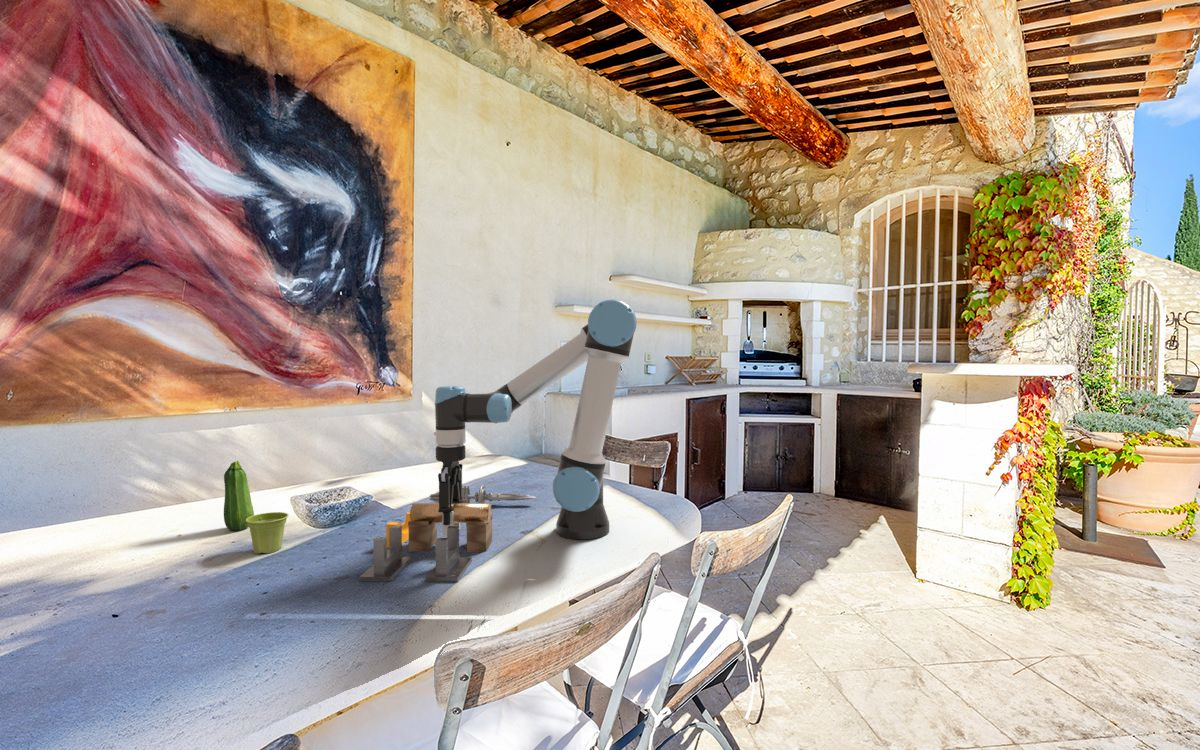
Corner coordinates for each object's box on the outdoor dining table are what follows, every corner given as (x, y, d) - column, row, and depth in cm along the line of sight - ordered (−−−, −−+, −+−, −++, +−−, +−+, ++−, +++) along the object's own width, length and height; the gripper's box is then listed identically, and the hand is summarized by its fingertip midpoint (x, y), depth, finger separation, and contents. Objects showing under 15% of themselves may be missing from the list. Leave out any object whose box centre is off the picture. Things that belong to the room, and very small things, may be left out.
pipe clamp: (404, 533, 152) (404, 511, 152) (418, 534, 151) (418, 511, 151) (380, 548, 140) (380, 523, 140) (395, 549, 139) (395, 524, 139)
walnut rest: (492, 542, 144) (492, 513, 144) (485, 552, 136) (485, 522, 136) (419, 541, 144) (418, 513, 144) (408, 551, 137) (408, 522, 136)
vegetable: (241, 534, 151) (240, 463, 150) (217, 533, 151) (215, 463, 151) (259, 526, 158) (258, 459, 157) (236, 525, 158) (235, 458, 158)
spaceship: (534, 512, 172) (534, 488, 172) (426, 512, 172) (425, 488, 172) (537, 505, 180) (537, 482, 180) (433, 505, 180) (433, 482, 180)
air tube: (491, 519, 142) (491, 501, 142) (486, 525, 137) (486, 506, 137) (417, 519, 143) (416, 500, 143) (409, 525, 138) (409, 505, 138)
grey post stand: (471, 561, 130) (471, 524, 130) (457, 581, 118) (457, 541, 118) (382, 560, 130) (382, 524, 130) (359, 581, 118) (358, 541, 118)
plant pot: (279, 541, 145) (278, 509, 144) (295, 548, 139) (295, 515, 139) (240, 551, 137) (239, 518, 137) (256, 559, 132) (255, 524, 131)
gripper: (447, 439, 149) (447, 522, 149) (424, 450, 130) (425, 544, 131) (473, 439, 148) (474, 522, 149) (454, 450, 130) (455, 544, 131)
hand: (451, 532), depth 140 cm, fingers closed on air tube, 5 cm apart
